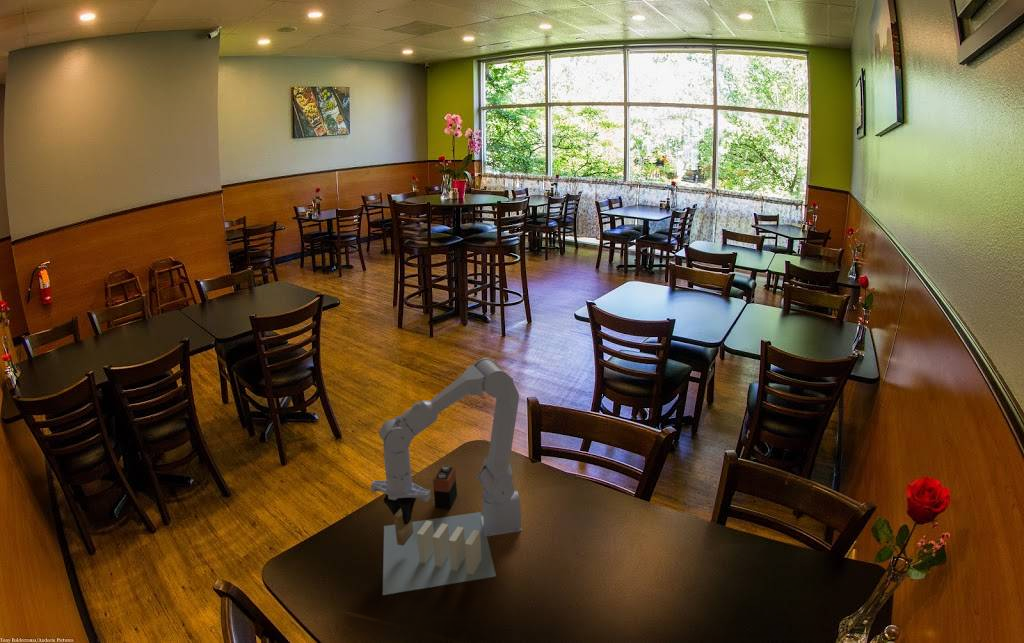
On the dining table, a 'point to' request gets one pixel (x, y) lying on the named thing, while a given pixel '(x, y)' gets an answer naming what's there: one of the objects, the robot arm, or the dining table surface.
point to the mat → (412, 575)
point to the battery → (445, 487)
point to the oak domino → (402, 528)
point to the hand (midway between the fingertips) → (403, 521)
